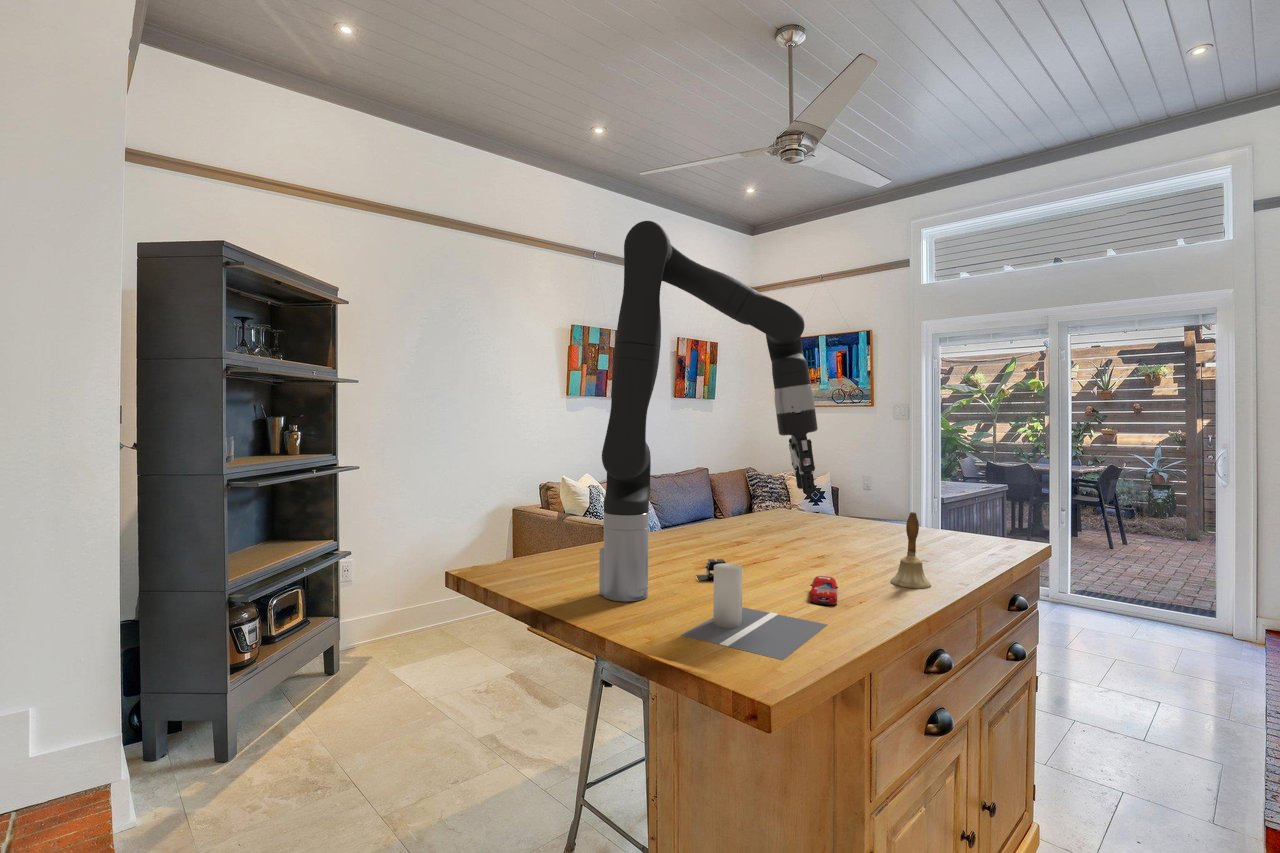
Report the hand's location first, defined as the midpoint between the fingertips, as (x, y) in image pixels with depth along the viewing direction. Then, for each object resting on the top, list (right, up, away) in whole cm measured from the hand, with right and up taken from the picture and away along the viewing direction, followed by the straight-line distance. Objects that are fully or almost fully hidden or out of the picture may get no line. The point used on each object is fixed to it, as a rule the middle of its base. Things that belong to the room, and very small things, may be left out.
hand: (806, 490), depth 123 cm
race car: (+5, -23, +5) cm, 24 cm away
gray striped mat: (-13, -23, -17) cm, 31 cm away
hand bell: (+28, -23, +16) cm, 39 cm away
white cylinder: (-17, -22, -14) cm, 31 cm away
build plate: (-15, -23, +20) cm, 34 cm away
